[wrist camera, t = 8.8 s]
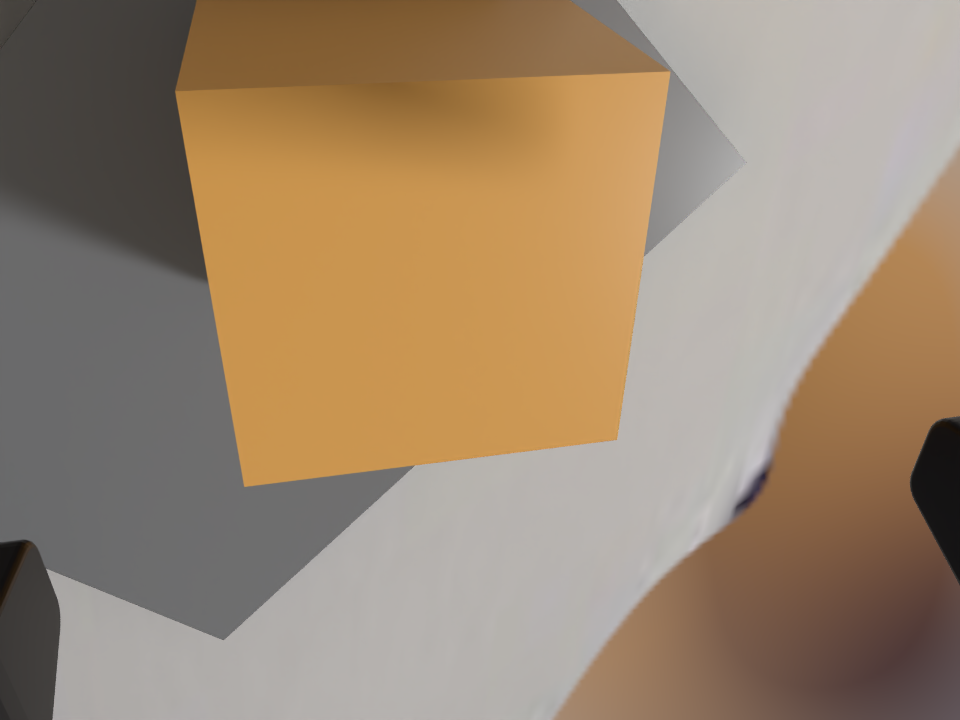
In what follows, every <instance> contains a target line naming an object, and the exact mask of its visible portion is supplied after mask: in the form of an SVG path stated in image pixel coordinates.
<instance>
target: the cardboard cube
mask: <svg viewBox="0 0 960 720" xmlns="http://www.w3.org/2000/svg"><path fill="white" fill-rule="evenodd" d="M670 72H671V71H669V70H668V69H666V68H665V67H664V66H662V65H661V64H659V63H658V62H657V61H655V60H654V59H652V58H651V57H649V56H648V55H647V54H645V53H644V52H642V51H641V50H640V49H638V48H637V47H635V46H634V45H632V44H631V43H630V42H628V41H627V40H625V39H624V38H623V37H621V36H620V35H618V34H617V33H615V32H614V31H613V30H611V29H610V28H608V27H607V26H606V25H604V24H603V23H601V22H600V21H598V20H597V19H596V18H594V17H593V16H591V15H590V14H589V13H587V12H586V11H584V10H583V9H581V8H580V7H579V6H577V5H576V4H574V3H573V2H572V1H570V0H197V1H196V5H195V10H194V14H193V18H192V22H191V26H190V31H189V35H188V39H187V43H186V47H185V52H184V56H183V60H182V64H181V68H180V73H179V77H178V81H177V85H176V90H175V93H176V99H177V105H178V111H179V116H180V122H181V128H182V133H183V139H184V145H185V151H186V156H187V162H188V168H189V174H190V179H191V185H192V191H193V196H194V202H195V208H196V214H197V219H198V225H199V231H200V236H201V242H202V248H203V254H204V259H205V265H206V271H207V277H208V282H209V288H210V294H211V299H212V305H213V311H214V317H215V322H216V328H217V334H218V339H219V345H220V351H221V357H222V362H223V368H224V374H225V379H226V385H227V391H228V397H229V402H230V408H231V414H232V420H233V425H234V431H235V437H236V442H237V448H238V454H239V460H240V465H241V471H242V477H243V482H244V487H248V486H256V485H264V484H272V483H280V482H288V481H296V480H304V479H312V478H319V477H327V476H335V475H343V474H351V473H359V472H367V471H375V470H383V469H390V468H398V467H406V466H414V465H422V464H430V463H438V462H446V461H454V460H461V459H469V458H477V457H485V456H493V455H501V454H509V453H517V452H525V451H532V450H540V449H548V448H556V447H564V446H572V445H580V444H588V443H596V442H603V441H611V440H617V436H618V429H619V423H620V416H621V409H622V402H623V395H624V388H625V381H626V375H627V368H628V361H629V354H630V347H631V340H632V333H633V326H634V320H635V313H636V306H637V299H638V292H639V285H640V278H641V272H642V265H643V258H644V251H645V244H646V237H647V230H648V223H649V217H650V210H651V203H652V196H653V189H654V182H655V175H656V168H657V162H658V155H659V148H660V141H661V134H662V127H663V120H664V114H665V107H666V100H667V93H668V86H669V79H670Z"/></svg>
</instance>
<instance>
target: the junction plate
mask: <svg viewBox="0 0 960 720" xmlns="http://www.w3.org/2000/svg"><path fill="white" fill-rule="evenodd" d="M196 1H197V0H37V1H36V2H35V3H34V5H33V6H32V7H31V9H30V10H29V11H28V13H27V14H26V15H25V17H24V18H23V19H22V21H21V22H20V23H19V25H18V26H17V27H16V29H15V30H14V32H13V33H12V34H11V36H10V37H9V38H8V40H7V41H6V42H5V44H4V45H3V46H2V48H1V49H0V542H7V541H15V540H22V539H23V540H29V541H32V542H33V543H34V544H35V545H36V547H37V548H38V550H39V552H40V555H41V557H42V560H43V563H44V565H45V568H47V569H49V570H52V571H54V572H56V573H59V574H61V575H64V576H66V577H69V578H71V579H74V580H76V581H79V582H81V583H84V584H86V585H89V586H91V587H93V588H96V589H98V590H101V591H103V592H106V593H108V594H111V595H113V596H116V597H118V598H121V599H123V600H126V601H128V602H130V603H133V604H135V605H138V606H140V607H143V608H145V609H148V610H150V611H153V612H155V613H158V614H160V615H163V616H165V617H167V618H170V619H172V620H175V621H177V622H180V623H182V624H185V625H187V626H190V627H192V628H195V629H197V630H200V631H202V632H204V633H207V634H209V635H212V636H214V637H217V638H219V639H222V640H224V639H225V638H227V637H228V636H229V635H230V634H231V633H232V632H233V631H234V630H235V629H236V628H238V627H239V626H240V625H241V624H242V623H243V622H244V621H245V620H246V619H247V618H248V617H250V616H251V615H252V614H253V613H254V612H255V611H256V610H257V609H258V608H259V607H261V606H262V605H263V604H264V603H265V602H266V601H267V600H268V599H269V598H270V597H271V596H273V595H274V594H275V593H276V592H277V591H278V590H279V589H280V588H281V587H282V586H284V585H285V584H286V583H287V582H288V581H289V580H290V579H291V578H292V577H293V576H294V575H296V574H297V573H298V572H299V571H300V570H301V569H302V568H303V567H304V566H305V565H307V564H308V563H309V562H310V561H311V560H312V559H313V558H314V557H315V556H316V555H318V554H319V553H320V552H321V551H322V550H323V549H324V548H325V547H326V546H327V545H328V544H330V543H331V542H332V541H333V540H334V539H335V538H336V537H337V536H338V535H339V534H341V533H342V532H343V531H344V530H345V529H346V528H347V527H348V526H349V525H350V524H351V523H353V522H354V521H355V520H356V519H357V518H358V517H359V516H360V515H361V514H362V513H364V512H365V511H366V510H367V509H368V508H369V507H370V506H371V505H372V504H373V503H374V502H376V501H377V500H378V499H379V498H380V497H381V496H382V495H383V494H384V493H385V492H387V491H388V490H389V489H390V488H391V487H392V486H393V485H394V484H395V483H396V482H397V481H399V480H400V479H401V478H402V477H403V476H404V475H405V474H406V473H407V472H408V471H410V470H411V469H412V468H413V467H414V466H415V465H414V466H406V467H398V468H390V469H383V470H375V471H367V472H359V473H351V474H343V475H335V476H327V477H319V478H312V479H304V480H296V481H288V482H280V483H272V484H264V485H256V486H248V487H244V482H243V477H242V471H241V465H240V460H239V454H238V448H237V442H236V437H235V431H234V425H233V420H232V414H231V408H230V402H229V397H228V391H227V385H226V379H225V374H224V368H223V362H222V357H221V351H220V345H219V339H218V334H217V328H216V322H215V317H214V311H213V305H212V299H211V294H210V288H209V282H208V277H207V271H206V265H205V259H204V254H203V248H202V242H201V236H200V231H199V225H198V219H197V214H196V208H195V202H194V196H193V191H192V185H191V179H190V174H189V168H188V162H187V156H186V151H185V145H184V139H183V133H182V128H181V122H180V116H179V111H178V105H177V99H176V93H175V90H176V85H177V81H178V77H179V73H180V68H181V64H182V60H183V56H184V52H185V47H186V43H187V39H188V35H189V31H190V26H191V22H192V18H193V14H194V10H195V5H196ZM570 1H572V2H573V3H574V4H576V5H577V6H579V7H580V8H581V9H583V10H584V11H586V12H587V13H589V14H590V15H591V16H593V17H594V18H596V19H597V20H598V21H600V22H601V23H603V24H604V25H606V26H607V27H608V28H610V29H611V30H613V31H614V32H615V33H617V34H618V35H620V36H621V37H623V38H624V39H625V40H627V41H628V42H630V43H631V44H632V45H634V46H635V47H637V48H638V49H640V50H641V51H642V52H644V53H645V54H647V55H648V56H649V57H651V58H652V59H654V60H655V61H657V62H658V63H659V64H661V65H662V66H664V67H665V68H666V69H668V70H669V71H671V72H670V79H669V86H668V93H667V100H666V107H665V114H664V120H663V127H662V134H661V141H660V148H659V155H658V162H657V168H656V175H655V182H654V189H653V196H652V203H651V210H650V217H649V223H648V230H647V237H646V244H645V251H644V256H645V255H646V254H647V253H648V252H649V251H651V250H652V249H653V248H654V247H655V246H656V245H657V244H658V243H659V242H660V241H662V240H663V239H664V238H665V237H666V236H667V235H668V234H669V233H670V232H671V231H672V230H674V229H675V228H676V227H677V226H678V225H679V224H680V223H681V222H682V221H683V220H685V219H686V218H687V217H688V216H689V215H690V214H691V213H692V212H693V211H694V210H695V209H697V208H698V207H699V206H700V205H701V204H702V203H703V202H704V201H705V200H706V199H708V198H709V197H710V196H711V195H712V194H713V193H714V192H715V191H716V190H717V189H718V188H720V187H721V186H722V185H723V184H724V183H725V182H726V181H727V180H728V179H729V178H731V177H732V176H733V175H734V174H735V173H736V172H737V171H738V170H739V169H740V168H741V167H743V166H744V165H745V164H746V163H747V162H746V161H745V160H744V159H743V157H742V156H741V155H740V154H739V152H738V151H737V150H736V149H735V147H734V146H733V145H732V144H731V142H730V141H729V140H728V139H727V137H726V136H725V135H724V134H723V132H722V131H721V130H720V129H719V127H718V126H717V125H716V124H715V122H714V121H713V120H712V119H711V117H710V116H709V115H708V114H707V112H706V111H705V110H704V109H703V107H702V106H701V105H700V104H699V102H698V101H697V100H696V99H695V97H694V96H693V95H692V94H691V92H690V91H689V90H688V89H687V87H686V86H685V85H684V84H683V82H682V81H681V80H680V79H679V77H678V76H677V75H676V74H675V72H674V71H673V70H672V69H671V67H670V66H669V65H668V64H667V62H666V61H665V60H664V59H663V57H662V56H661V55H660V54H659V52H658V51H657V50H656V49H655V47H654V46H653V45H652V44H651V42H650V41H649V40H648V39H647V37H646V36H645V35H644V34H643V32H642V31H641V30H640V29H639V27H638V26H637V25H636V24H635V22H634V21H633V20H632V19H631V17H630V16H629V15H628V14H627V12H626V11H625V10H624V9H623V7H622V6H621V5H620V4H619V2H618V1H617V0H570Z"/></svg>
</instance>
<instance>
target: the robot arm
mask: <svg viewBox="0 0 960 720" xmlns="http://www.w3.org/2000/svg"><path fill="white" fill-rule="evenodd" d="M910 488H911V492H912V496H913V498H914V501H915V502H916V504H917V506H918V508H919V510H920V512H921V514H922V516H923V517H924V519H925V521H926V523H927V525H928V527H929V529H930V530H931V532H932V534H933V536H934V538H935V540H936V542H937V543H938V545H939V547H940V549H941V551H942V553H943V555H944V557H945V558H946V560H947V562H948V564H949V566H950V568H951V570H952V572H953V573H954V575H955V577H956V579H957V581H958V583H959V584H960V416H959V417H952V418H945V419H941V420H938V421H936V422H935V423H934V424H933V425H932V426H931V428H930V430H929V432H928V434H927V437H926V439H925V442H924V444H923V447H922V449H921V451H920V454H919V456H918V459H917V461H916V463H915V466H914V468H913V471H912V474H911V478H910ZM59 636H60V609H59V604H58V600H57V597H56V594H55V592H54V589H53V586H52V584H51V581H50V579H49V576H48V573H47V571H46V568H45V565H44V563H43V560H42V557H41V555H40V552H39V550H38V548H37V547H36V545H35V544H34V543H33V542H32V541H29V540H23V539H22V540H15V541H7V542H0V720H52V718H53V707H54V695H55V683H56V671H57V660H58V648H59Z"/></svg>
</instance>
